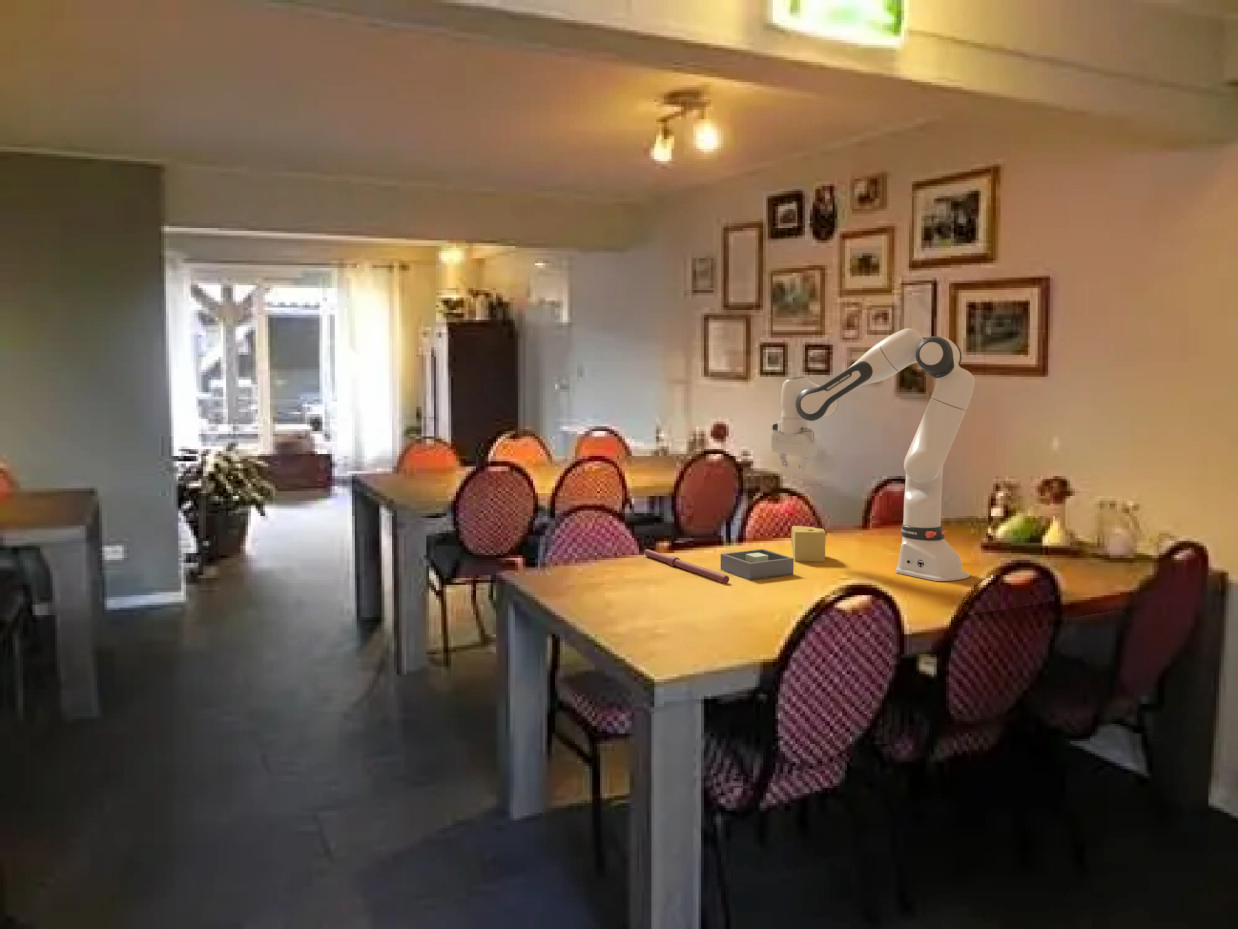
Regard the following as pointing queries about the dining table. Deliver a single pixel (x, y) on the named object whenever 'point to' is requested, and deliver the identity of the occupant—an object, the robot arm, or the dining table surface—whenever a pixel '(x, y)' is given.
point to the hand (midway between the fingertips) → (793, 468)
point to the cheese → (808, 544)
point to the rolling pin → (687, 566)
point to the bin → (757, 565)
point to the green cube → (756, 557)
